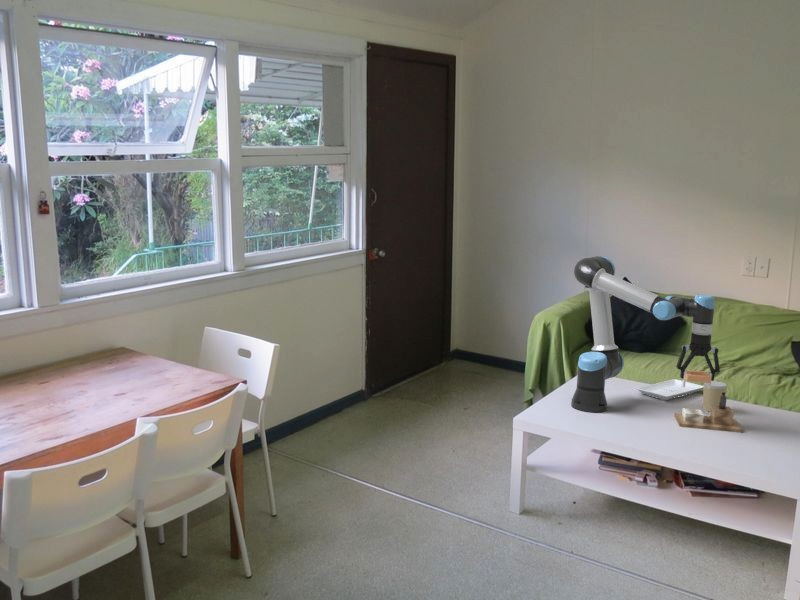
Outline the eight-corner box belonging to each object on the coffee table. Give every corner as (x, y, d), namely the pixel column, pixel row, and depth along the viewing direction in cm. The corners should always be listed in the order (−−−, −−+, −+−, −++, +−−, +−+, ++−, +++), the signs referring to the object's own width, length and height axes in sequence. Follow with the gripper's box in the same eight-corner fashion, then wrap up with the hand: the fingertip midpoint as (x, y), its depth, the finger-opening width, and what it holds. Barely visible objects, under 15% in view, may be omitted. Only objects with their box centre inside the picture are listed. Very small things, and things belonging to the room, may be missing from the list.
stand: (679, 426, 297) (682, 397, 295) (674, 415, 310) (676, 387, 308) (742, 432, 292) (746, 403, 290) (734, 421, 305) (737, 393, 303)
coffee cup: (726, 414, 315) (729, 387, 313) (703, 412, 317) (706, 385, 315) (721, 407, 324) (724, 381, 322) (698, 405, 326) (701, 379, 324)
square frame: (687, 381, 296) (687, 375, 295) (683, 375, 304) (683, 369, 304) (710, 383, 294) (711, 377, 293) (706, 377, 302) (706, 371, 302)
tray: (634, 394, 341) (635, 387, 340) (673, 384, 360) (674, 378, 359) (667, 404, 328) (667, 396, 327) (705, 393, 346) (706, 386, 346)
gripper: (674, 333, 294) (669, 387, 298) (732, 337, 290) (726, 392, 294) (671, 329, 302) (666, 382, 305) (728, 333, 297) (722, 387, 301)
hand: (696, 387), depth 300 cm, fingers closed on square frame, 9 cm apart
